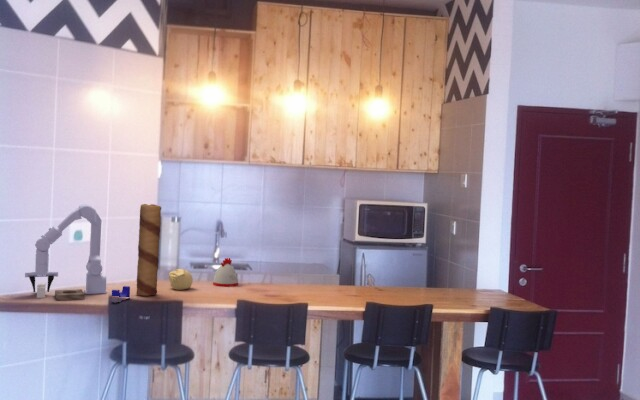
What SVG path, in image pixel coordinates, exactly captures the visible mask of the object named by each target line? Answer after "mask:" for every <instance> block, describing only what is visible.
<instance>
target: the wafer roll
mask: <svg viewBox="0 0 640 400" xmlns="http://www.w3.org/2000/svg"><path fill="white" fill-rule="evenodd" d="M161 212H162V206H161V205H158V204H153V203H152V204H151V203H150V204H148V203H147V204H146V203H144V204H143V203H142V204H140V209H139V222H138V223H139V229H138V244H137V245H138V246H137V250H138V251H137V252H138V254H137V257H138V258H137V266H136V267H137V268H136V269H137V272H136V275H137V276H136V296H143V297H146V296H147V297H149V296H154V295H157V293H158V290H157V289H158V288H157V287H158V272H159V271H158V270H159V260H160V259H159V257H160V254H159V253H160V238H161V236H160V234H161V233H160V232H161V225H162V223H161V222H162V221H161V220H162V219H161V215H162V214H161Z"/></svg>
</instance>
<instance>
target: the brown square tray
mask: <svg viewBox="0 0 640 400" xmlns="http://www.w3.org/2000/svg"><path fill="white" fill-rule="evenodd" d="M85 295H86V293H85V292H84V291H83V289H79V288H78V289H57V290H55V291H54V296H55V298H56V301H57V302H58V301H60V302H61V301H77V300H81V301H82V300H85Z"/></svg>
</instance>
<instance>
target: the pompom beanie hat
mask: <svg viewBox="0 0 640 400" xmlns="http://www.w3.org/2000/svg"><path fill="white" fill-rule="evenodd" d="M232 262H233V259H231V257H225V258H224V260H222V262H220V266H219V267H218V268H217V269H216V271H215V272H214V277H213V281H212V285H213V286H215V287H223V288H225V287H226V288H230V287H237V286H239V279H238V273H237V272H236V270H235V268H234V267H233V266H232V265H231V264H232Z"/></svg>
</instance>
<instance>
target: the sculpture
mask: <svg viewBox="0 0 640 400" xmlns="http://www.w3.org/2000/svg"><path fill="white" fill-rule="evenodd" d="M193 278H194V277H193V276H192V274H191V273H190V271H188V270H186V269H183V268H178V269H174V270H172V271H170V272H169V274H168V279H169V282H170V287H171V288H173V289H174V290H177V291H182V290H187V289H190V288H191V287H192V285H193V283H194V281H193Z"/></svg>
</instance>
